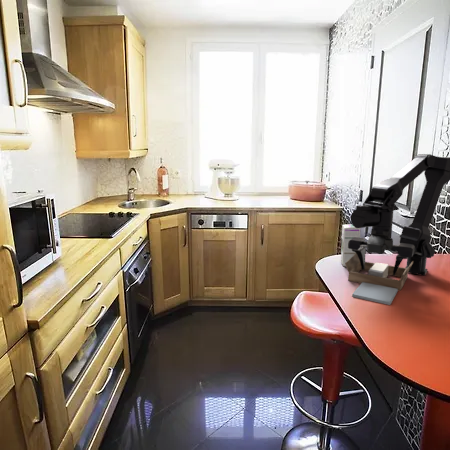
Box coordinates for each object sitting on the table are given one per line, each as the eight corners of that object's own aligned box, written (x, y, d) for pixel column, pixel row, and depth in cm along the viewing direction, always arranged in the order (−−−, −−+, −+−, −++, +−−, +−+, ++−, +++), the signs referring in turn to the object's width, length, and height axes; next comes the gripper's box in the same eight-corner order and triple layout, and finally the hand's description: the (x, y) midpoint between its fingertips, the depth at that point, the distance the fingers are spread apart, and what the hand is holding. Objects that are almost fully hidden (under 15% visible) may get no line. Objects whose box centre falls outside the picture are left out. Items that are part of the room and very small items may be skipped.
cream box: (374, 273, 116) (375, 262, 115) (387, 275, 113) (388, 264, 113) (367, 282, 108) (368, 270, 107) (381, 285, 106) (382, 272, 105)
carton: (355, 268, 121) (356, 252, 120) (412, 278, 111) (413, 261, 110) (343, 279, 111) (344, 262, 109) (405, 291, 100) (407, 273, 99)
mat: (362, 284, 107) (362, 282, 106) (397, 291, 101) (397, 288, 101) (352, 296, 98) (352, 294, 98) (390, 305, 92) (390, 302, 92)
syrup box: (359, 267, 122) (361, 227, 119) (341, 266, 123) (344, 227, 120) (356, 262, 128) (358, 224, 125) (340, 261, 129) (341, 223, 126)
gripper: (343, 226, 106) (341, 274, 109) (411, 233, 95) (406, 286, 98) (354, 220, 114) (351, 264, 118) (417, 226, 104) (412, 274, 107)
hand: (378, 272), depth 110 cm, fingers open, 9 cm apart
